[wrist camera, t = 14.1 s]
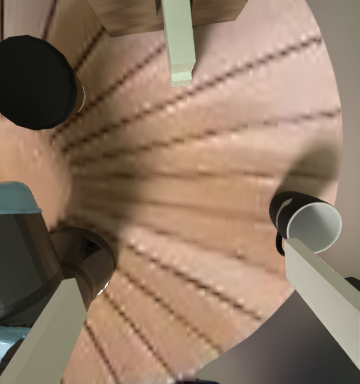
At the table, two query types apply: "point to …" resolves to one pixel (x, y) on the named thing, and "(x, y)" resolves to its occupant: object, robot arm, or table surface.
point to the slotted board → (158, 14)
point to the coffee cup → (37, 84)
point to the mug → (305, 220)
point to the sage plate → (178, 41)
